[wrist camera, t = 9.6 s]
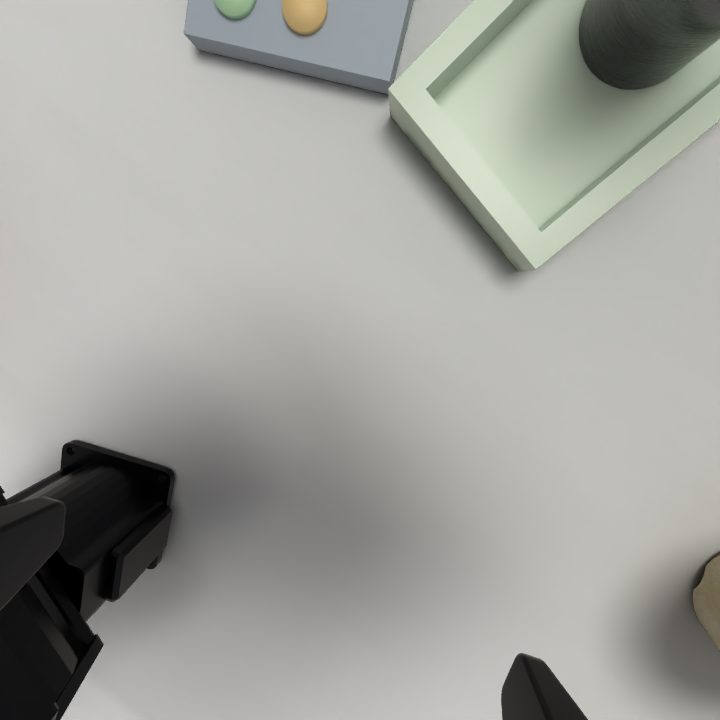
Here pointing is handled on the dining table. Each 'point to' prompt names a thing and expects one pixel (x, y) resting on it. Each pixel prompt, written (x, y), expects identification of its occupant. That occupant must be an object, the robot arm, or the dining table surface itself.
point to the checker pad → (307, 36)
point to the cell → (645, 38)
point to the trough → (542, 122)
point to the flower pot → (709, 600)
